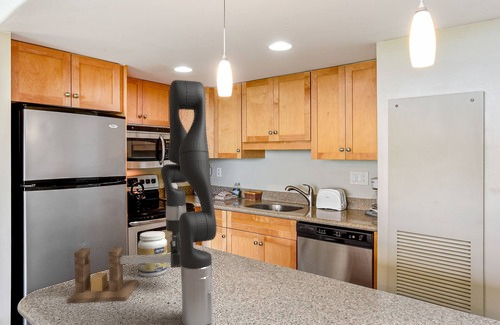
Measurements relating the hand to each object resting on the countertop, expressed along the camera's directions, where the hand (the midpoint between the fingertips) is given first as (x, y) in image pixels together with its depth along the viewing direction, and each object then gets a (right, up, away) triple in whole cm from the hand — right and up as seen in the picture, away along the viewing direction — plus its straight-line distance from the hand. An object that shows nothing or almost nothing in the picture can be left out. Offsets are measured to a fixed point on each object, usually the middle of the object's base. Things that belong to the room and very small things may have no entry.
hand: (177, 262), depth 125 cm
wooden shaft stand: (-27, -11, -2) cm, 29 cm away
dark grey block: (-10, -1, -1) cm, 10 cm away
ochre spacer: (-27, -7, -1) cm, 27 cm away
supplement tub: (-15, -10, +19) cm, 26 cm away
